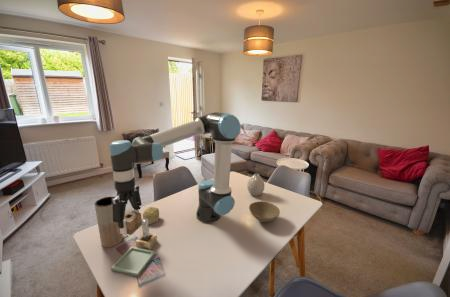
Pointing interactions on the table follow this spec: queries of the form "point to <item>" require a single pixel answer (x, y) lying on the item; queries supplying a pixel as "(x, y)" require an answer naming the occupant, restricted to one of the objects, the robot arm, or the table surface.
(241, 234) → the table surface
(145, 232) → the cylinder
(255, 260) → the table surface
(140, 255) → the tray
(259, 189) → the vase
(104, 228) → the planter
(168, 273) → the table surface
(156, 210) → the decorative item
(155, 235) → the block
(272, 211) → the bowl
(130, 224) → the block
